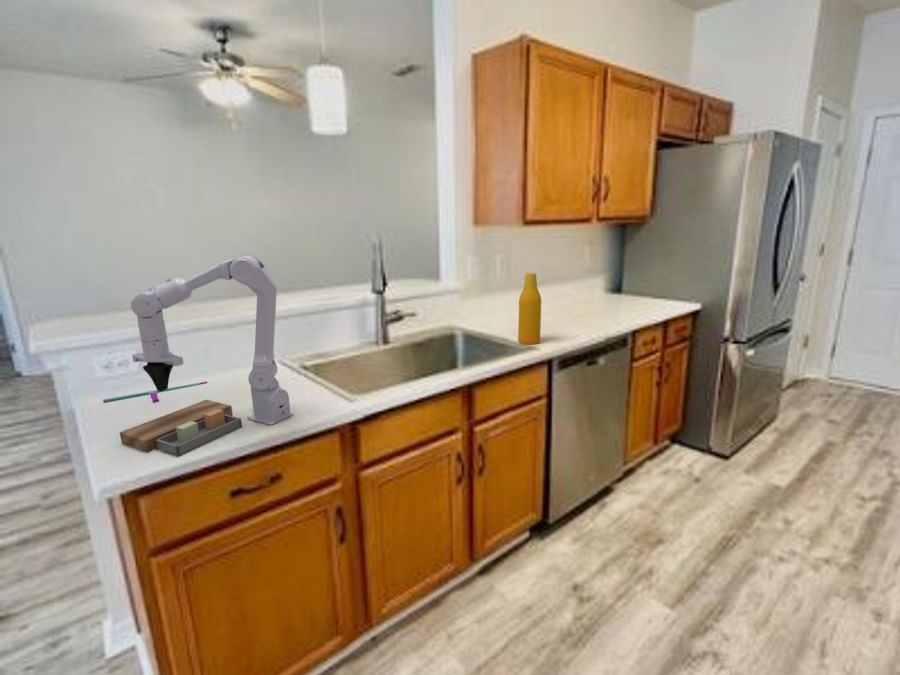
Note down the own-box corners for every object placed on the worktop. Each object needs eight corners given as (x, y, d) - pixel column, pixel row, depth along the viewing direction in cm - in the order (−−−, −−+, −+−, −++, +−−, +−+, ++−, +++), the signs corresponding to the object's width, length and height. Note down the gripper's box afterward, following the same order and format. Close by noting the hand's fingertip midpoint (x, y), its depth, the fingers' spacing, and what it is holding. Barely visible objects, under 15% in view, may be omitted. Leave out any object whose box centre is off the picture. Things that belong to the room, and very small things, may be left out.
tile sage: (192, 435, 125) (199, 437, 124) (178, 442, 121) (185, 444, 120) (190, 421, 124) (197, 422, 123) (175, 427, 120) (182, 429, 119)
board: (232, 415, 138) (231, 405, 137) (147, 452, 117) (145, 441, 117) (207, 409, 143) (206, 399, 142) (121, 443, 122) (119, 432, 121)
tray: (241, 427, 130) (240, 418, 130) (178, 456, 115) (176, 446, 114) (221, 421, 134) (219, 412, 134) (156, 449, 119) (154, 439, 118)
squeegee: (103, 408, 141) (102, 398, 149) (104, 414, 142) (103, 403, 150) (212, 388, 157) (206, 380, 165) (213, 394, 158) (207, 385, 166)
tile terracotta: (219, 422, 132) (225, 424, 131) (205, 428, 129) (212, 430, 128) (217, 408, 131) (223, 410, 130) (203, 414, 128) (210, 415, 127)
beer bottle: (543, 340, 210) (545, 272, 203) (535, 346, 202) (537, 275, 195) (523, 338, 215) (524, 271, 207) (514, 343, 207) (515, 274, 200)
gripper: (189, 337, 127) (196, 387, 131) (145, 333, 131) (153, 382, 135) (166, 344, 121) (175, 396, 124) (121, 340, 125) (130, 390, 128)
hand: (162, 389), depth 129 cm, fingers closed
